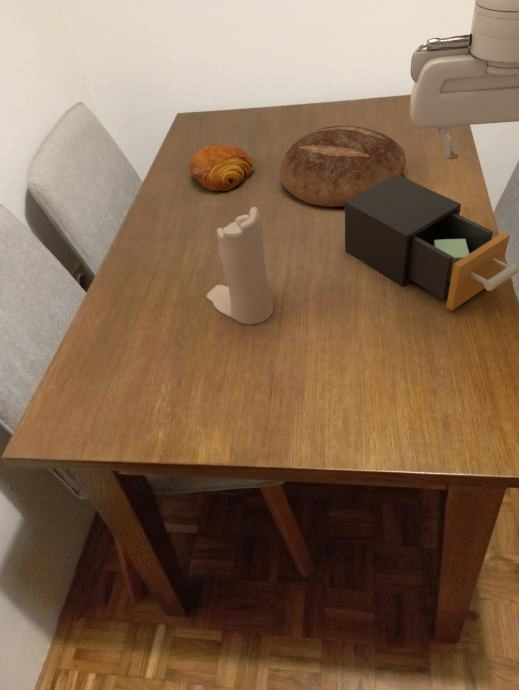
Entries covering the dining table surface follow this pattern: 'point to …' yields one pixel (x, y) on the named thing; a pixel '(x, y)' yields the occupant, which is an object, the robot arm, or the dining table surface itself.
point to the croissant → (220, 166)
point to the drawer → (470, 271)
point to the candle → (243, 272)
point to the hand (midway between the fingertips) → (489, 154)
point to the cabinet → (391, 223)
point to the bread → (339, 164)
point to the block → (453, 249)
